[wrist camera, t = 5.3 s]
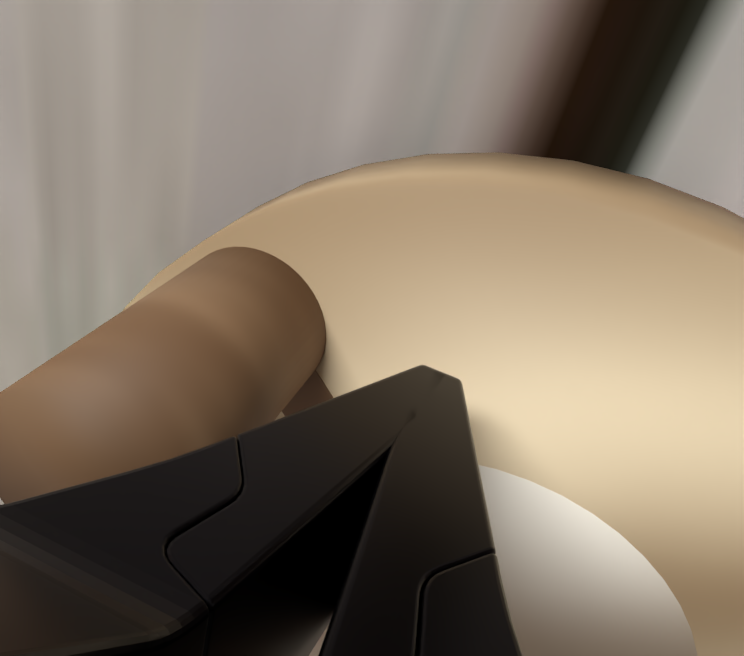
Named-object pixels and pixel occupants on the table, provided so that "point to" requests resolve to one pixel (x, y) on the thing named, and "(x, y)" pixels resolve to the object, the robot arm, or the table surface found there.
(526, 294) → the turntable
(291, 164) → the table surface
